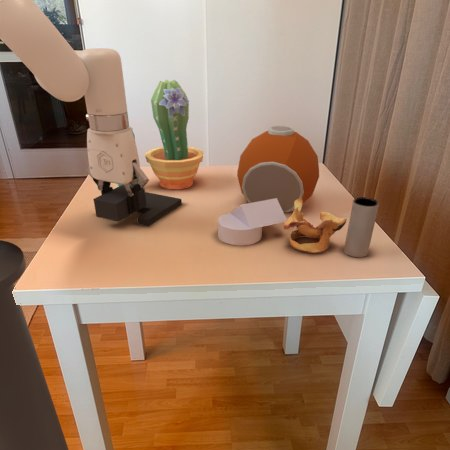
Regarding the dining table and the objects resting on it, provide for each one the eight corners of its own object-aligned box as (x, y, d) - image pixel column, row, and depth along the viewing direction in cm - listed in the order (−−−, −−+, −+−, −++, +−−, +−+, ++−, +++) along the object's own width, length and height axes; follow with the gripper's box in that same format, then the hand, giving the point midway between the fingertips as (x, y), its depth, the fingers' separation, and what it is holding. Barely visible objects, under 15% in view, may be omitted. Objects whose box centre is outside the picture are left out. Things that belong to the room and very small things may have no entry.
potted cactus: (138, 190, 109) (126, 83, 95) (159, 172, 121) (151, 75, 107) (195, 196, 106) (191, 86, 92) (211, 176, 119) (209, 77, 104)
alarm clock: (318, 194, 107) (328, 122, 98) (311, 221, 93) (321, 140, 84) (245, 187, 112) (248, 117, 102) (228, 211, 98) (229, 134, 88)
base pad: (97, 214, 96) (96, 208, 95) (134, 195, 106) (133, 189, 106) (148, 226, 91) (147, 219, 90) (181, 204, 101) (181, 198, 100)
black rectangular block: (96, 216, 90) (93, 198, 88) (125, 201, 97) (122, 184, 95) (118, 221, 88) (116, 203, 85) (146, 205, 95) (144, 188, 93)
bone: (286, 258, 79) (290, 216, 75) (274, 235, 87) (277, 197, 83) (347, 254, 81) (355, 213, 76) (329, 232, 89) (335, 194, 84)
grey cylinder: (371, 257, 80) (383, 205, 74) (348, 258, 80) (358, 206, 74) (362, 246, 84) (373, 196, 78) (340, 247, 83) (349, 197, 77)
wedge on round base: (263, 220, 94) (211, 231, 89) (265, 191, 90) (210, 201, 85) (286, 236, 87) (230, 249, 82) (288, 205, 83) (231, 217, 79)
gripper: (61, 121, 82) (79, 208, 93) (133, 130, 76) (144, 223, 86) (88, 114, 88) (102, 197, 98) (156, 122, 82) (164, 210, 92)
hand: (121, 208), depth 92 cm, fingers closed on black rectangular block, 5 cm apart
